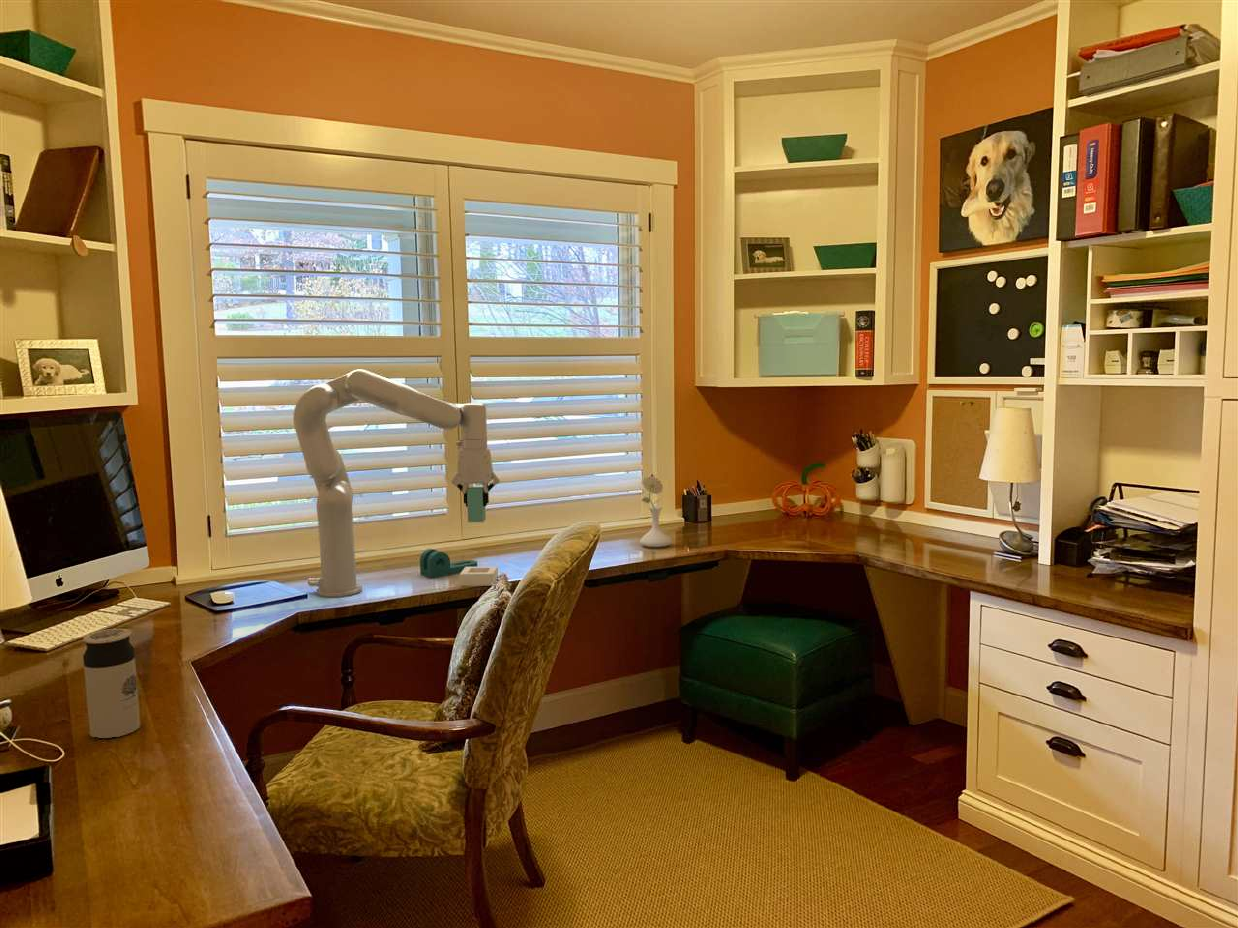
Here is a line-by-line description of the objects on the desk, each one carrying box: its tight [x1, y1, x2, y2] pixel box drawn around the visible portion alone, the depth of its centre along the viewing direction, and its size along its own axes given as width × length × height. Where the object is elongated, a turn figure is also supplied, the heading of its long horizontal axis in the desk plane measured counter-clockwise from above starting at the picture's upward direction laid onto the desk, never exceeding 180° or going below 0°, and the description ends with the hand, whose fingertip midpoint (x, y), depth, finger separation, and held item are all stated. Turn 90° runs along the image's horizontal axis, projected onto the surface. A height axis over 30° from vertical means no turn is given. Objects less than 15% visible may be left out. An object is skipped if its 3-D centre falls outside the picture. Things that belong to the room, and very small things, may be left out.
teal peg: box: [467, 486, 487, 523], centre depth 268 cm, size 4×4×10 cm
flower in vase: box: [639, 475, 673, 548], centre depth 317 cm, size 13×11×25 cm
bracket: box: [419, 548, 478, 579], centre depth 284 cm, size 18×7×8 cm, turn 130°
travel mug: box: [82, 628, 141, 739], centre depth 162 cm, size 8×8×18 cm
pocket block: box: [459, 565, 499, 587], centre depth 270 cm, size 10×10×4 cm
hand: (476, 505), depth 268 cm, fingers closed on teal peg, 4 cm apart
